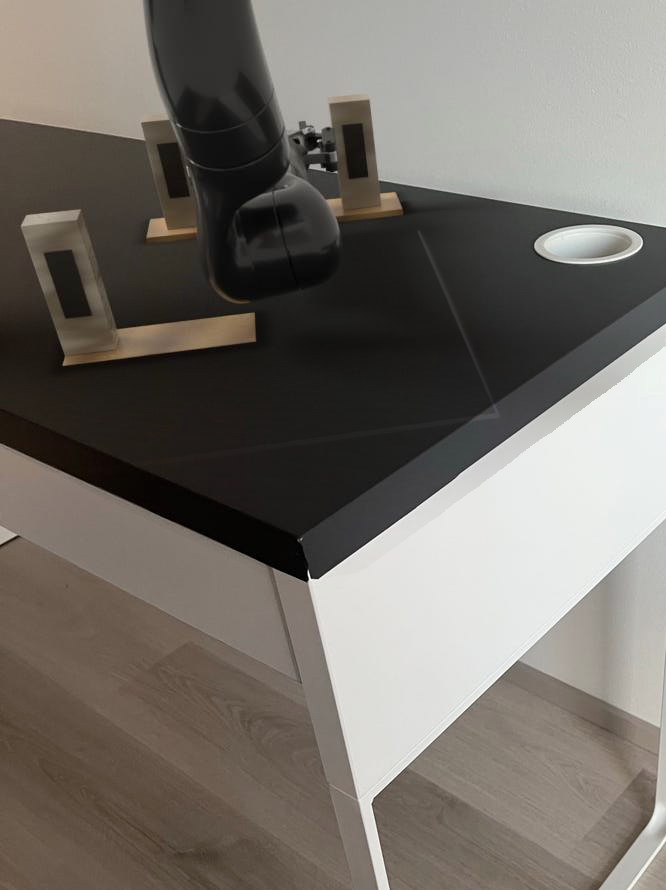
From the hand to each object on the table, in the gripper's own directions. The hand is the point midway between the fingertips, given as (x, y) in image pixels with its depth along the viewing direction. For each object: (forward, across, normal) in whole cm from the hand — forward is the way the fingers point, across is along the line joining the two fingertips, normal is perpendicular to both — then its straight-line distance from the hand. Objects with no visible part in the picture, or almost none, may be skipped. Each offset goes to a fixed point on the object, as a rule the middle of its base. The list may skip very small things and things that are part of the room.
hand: (260, 136), depth 98 cm
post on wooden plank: (-29, +10, +8) cm, 32 cm away
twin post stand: (0, 0, +8) cm, 8 cm away
